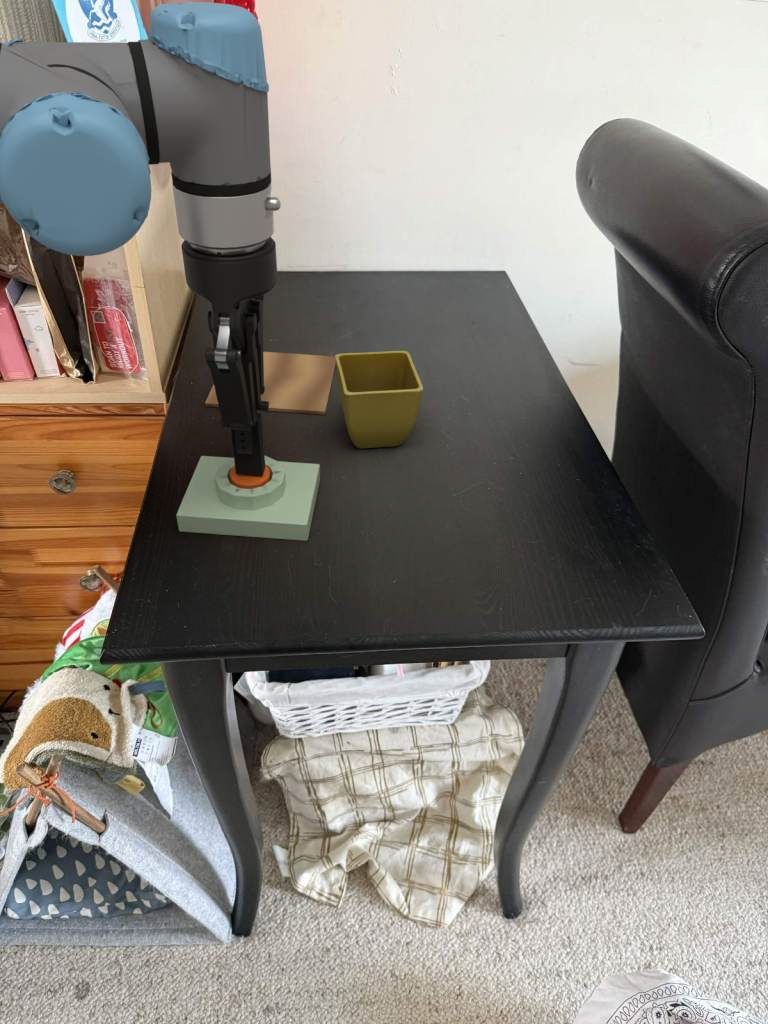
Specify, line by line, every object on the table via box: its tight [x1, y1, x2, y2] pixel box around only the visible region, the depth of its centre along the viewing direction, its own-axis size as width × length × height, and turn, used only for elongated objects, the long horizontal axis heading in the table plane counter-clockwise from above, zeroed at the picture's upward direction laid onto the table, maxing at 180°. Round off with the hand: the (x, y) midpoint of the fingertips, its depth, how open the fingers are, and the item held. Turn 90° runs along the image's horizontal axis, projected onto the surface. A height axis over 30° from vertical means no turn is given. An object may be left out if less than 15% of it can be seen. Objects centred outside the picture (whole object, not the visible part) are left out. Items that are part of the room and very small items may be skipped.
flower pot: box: [334, 350, 424, 449], centre depth 84 cm, size 9×9×9 cm
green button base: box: [175, 455, 321, 542], centre depth 76 cm, size 13×10×4 cm
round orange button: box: [230, 465, 270, 489], centre depth 75 cm, size 4×4×2 cm
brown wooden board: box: [204, 351, 336, 415], centre depth 96 cm, size 15×14×1 cm
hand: (250, 470), depth 74 cm, fingers closed
